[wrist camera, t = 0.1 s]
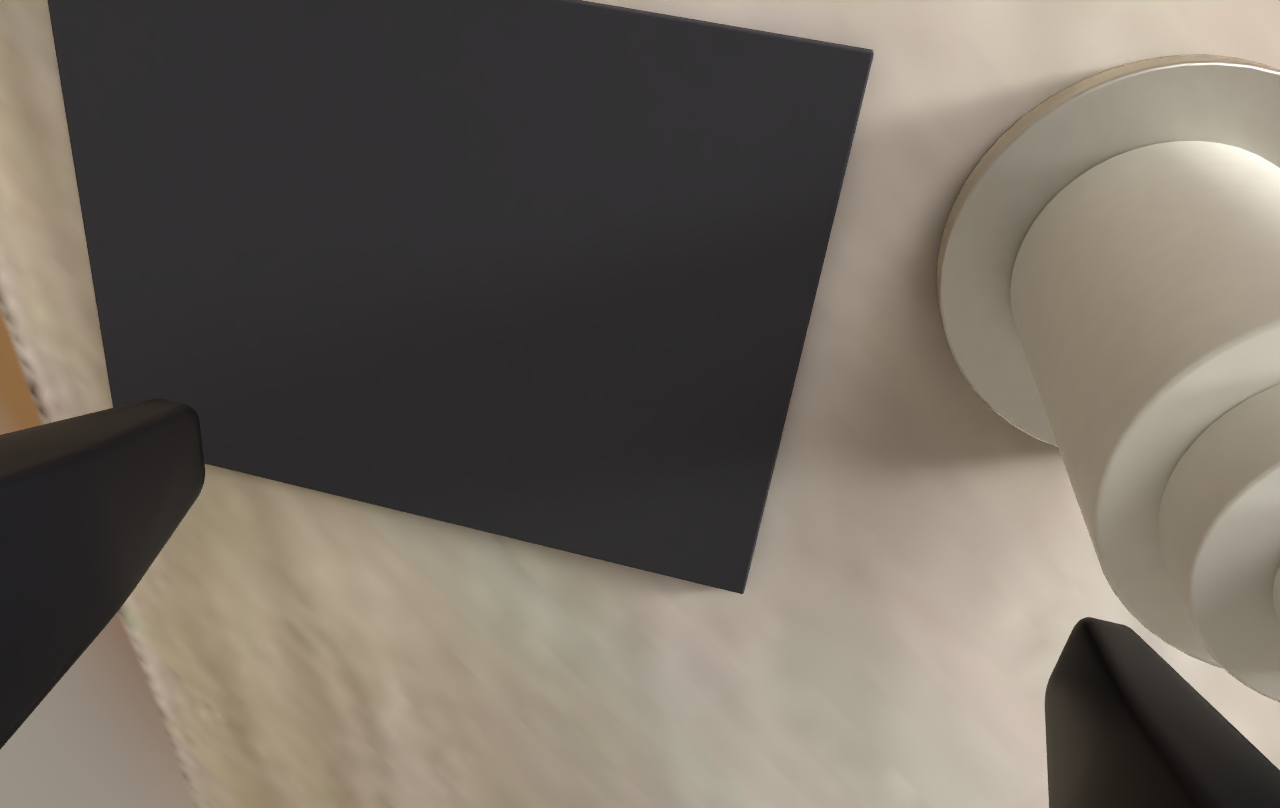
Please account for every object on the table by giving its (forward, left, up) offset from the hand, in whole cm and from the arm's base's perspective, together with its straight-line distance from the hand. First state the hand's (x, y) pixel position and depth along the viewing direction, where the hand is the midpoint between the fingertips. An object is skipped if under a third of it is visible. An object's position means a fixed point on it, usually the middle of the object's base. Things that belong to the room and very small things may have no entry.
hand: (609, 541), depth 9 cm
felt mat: (-4, +8, -15) cm, 17 cm away
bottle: (0, -9, -14) cm, 16 cm away
